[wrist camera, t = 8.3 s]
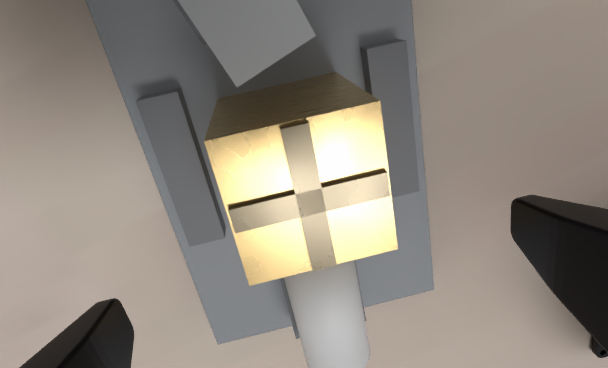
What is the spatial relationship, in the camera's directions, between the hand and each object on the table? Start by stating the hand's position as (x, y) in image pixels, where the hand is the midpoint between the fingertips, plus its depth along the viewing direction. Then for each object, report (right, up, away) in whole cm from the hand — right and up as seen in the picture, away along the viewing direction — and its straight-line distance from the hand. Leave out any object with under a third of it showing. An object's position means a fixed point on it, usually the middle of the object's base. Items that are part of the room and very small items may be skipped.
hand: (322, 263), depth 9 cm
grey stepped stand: (-1, +4, +10) cm, 11 cm away
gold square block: (-1, +4, +9) cm, 9 cm away
